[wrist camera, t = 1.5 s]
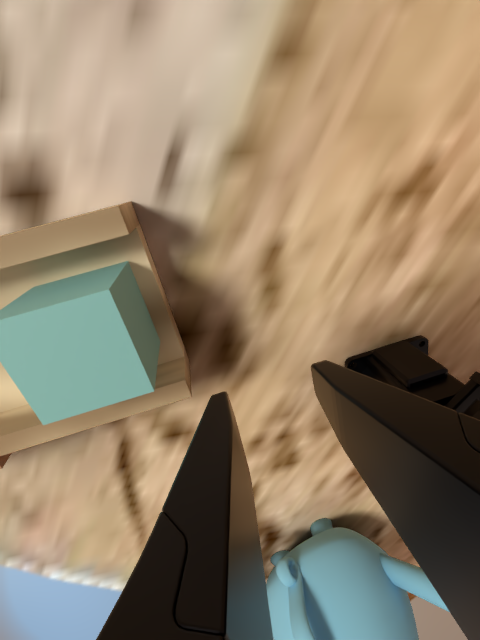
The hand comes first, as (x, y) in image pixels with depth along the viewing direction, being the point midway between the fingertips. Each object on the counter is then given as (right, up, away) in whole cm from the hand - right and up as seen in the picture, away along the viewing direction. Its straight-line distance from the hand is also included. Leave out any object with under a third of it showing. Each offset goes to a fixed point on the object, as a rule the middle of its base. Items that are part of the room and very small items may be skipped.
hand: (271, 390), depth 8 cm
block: (-9, +2, +9) cm, 13 cm away
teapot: (+8, -23, +25) cm, 34 cm away
